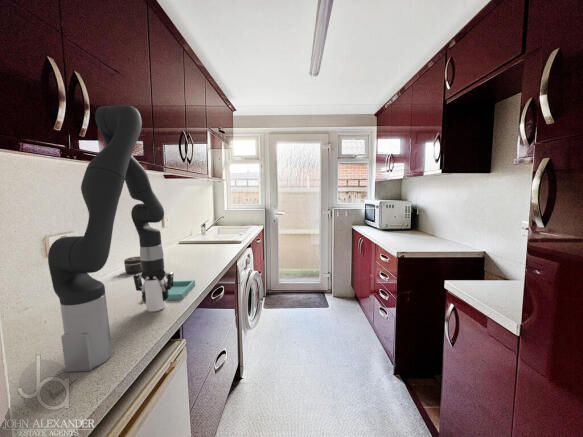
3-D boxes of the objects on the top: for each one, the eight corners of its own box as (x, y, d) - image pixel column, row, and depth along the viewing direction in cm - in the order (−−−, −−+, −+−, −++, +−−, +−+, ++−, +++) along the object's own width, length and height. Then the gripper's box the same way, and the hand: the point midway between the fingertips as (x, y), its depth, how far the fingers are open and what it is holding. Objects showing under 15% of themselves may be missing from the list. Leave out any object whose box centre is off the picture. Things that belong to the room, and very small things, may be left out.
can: (158, 312, 96) (155, 281, 95) (142, 311, 97) (139, 280, 96) (169, 305, 102) (167, 275, 101) (155, 304, 104) (152, 274, 102)
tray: (182, 299, 107) (181, 294, 107) (142, 301, 106) (141, 295, 106) (195, 285, 123) (194, 280, 123) (160, 286, 122) (160, 281, 122)
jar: (134, 275, 140) (132, 261, 139) (120, 273, 144) (119, 260, 143) (150, 269, 149) (148, 256, 148) (137, 268, 153) (136, 255, 152)
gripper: (126, 260, 94) (131, 305, 95) (167, 259, 94) (171, 303, 96) (137, 255, 101) (142, 297, 103) (175, 254, 101) (179, 295, 103)
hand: (156, 300), depth 99 cm, fingers closed on can, 6 cm apart
